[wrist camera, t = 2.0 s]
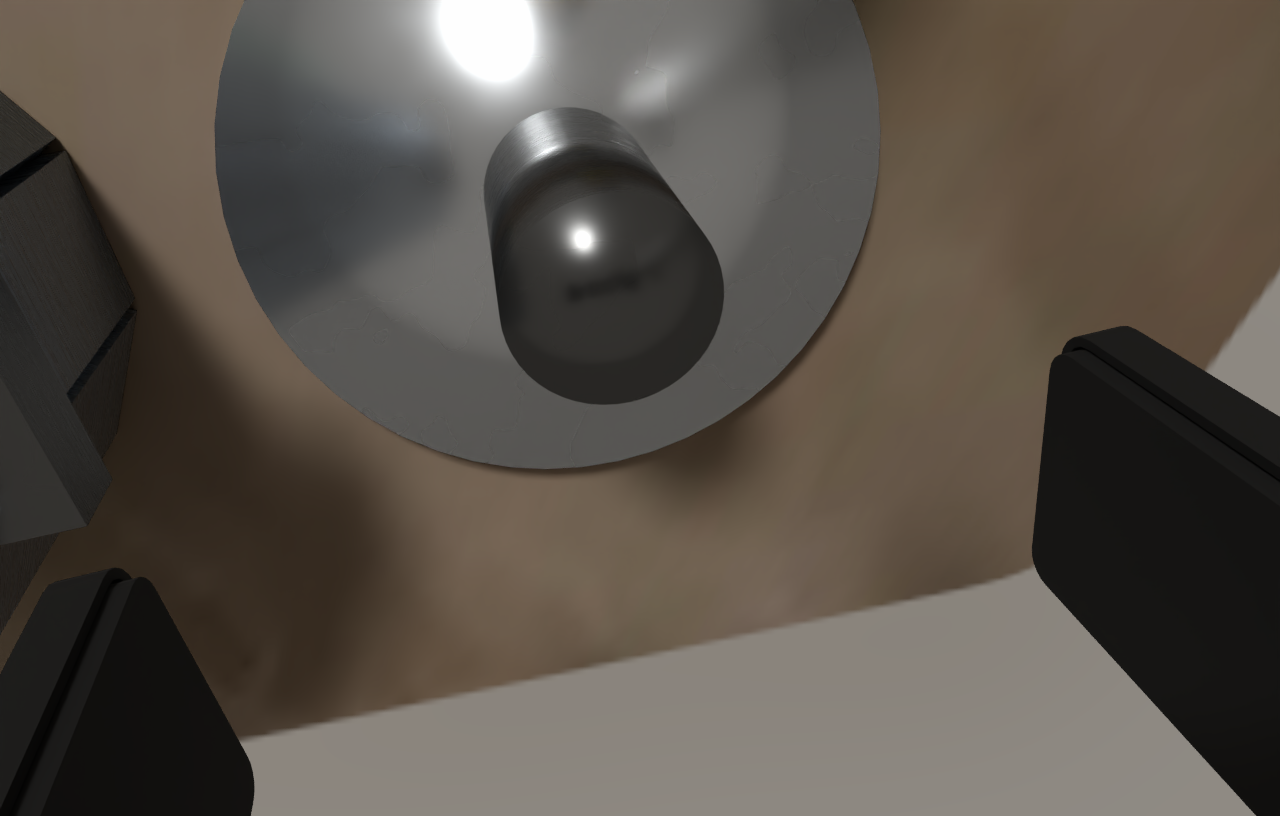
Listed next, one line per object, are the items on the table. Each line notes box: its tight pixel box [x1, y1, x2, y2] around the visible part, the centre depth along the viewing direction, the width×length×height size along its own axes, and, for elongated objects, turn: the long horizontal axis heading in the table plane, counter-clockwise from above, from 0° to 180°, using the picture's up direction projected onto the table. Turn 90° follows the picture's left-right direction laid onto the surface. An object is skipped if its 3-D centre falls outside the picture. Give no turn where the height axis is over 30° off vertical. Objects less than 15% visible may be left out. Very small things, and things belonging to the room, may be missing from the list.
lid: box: [215, 0, 880, 469], centre depth 18 cm, size 14×14×7 cm
